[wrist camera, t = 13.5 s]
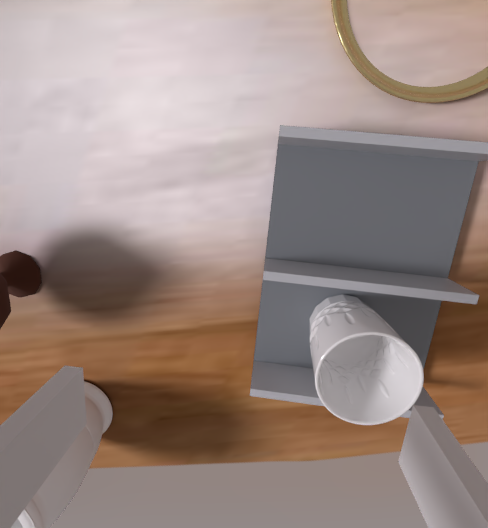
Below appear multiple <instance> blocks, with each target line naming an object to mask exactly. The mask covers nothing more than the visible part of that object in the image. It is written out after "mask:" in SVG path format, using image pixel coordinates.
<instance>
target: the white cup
mask: <svg viewBox="0 0 488 528" xmlns="http://www.w3.org/2000/svg"><path fill="white" fill-rule="evenodd" d="M309 333H310V350H311V358H312V364H313V372H314V379H315V387H316V391H317V394H318V396H319V398H320V400H321V402H322V403H323V405H324V406H325V407H326V408H327V409H328V410H329V411H330V412H331V413H332V414H334V415H335V416H337V417H338V418H340V419H342V420H344V421H347V422H350V423H354V424H360V425H376V424H382V423H385V422H389V421H391V420H394V419H396V418H398V417H399V416H401V415H403V414H404V413H405V412H407V411H408V410H409V409H410V408H411V407H412V406H413V405H414V403H415V402H416V400H417V399H418V397H419V395H420V393H421V390H422V387H423V382H424V372H423V367H422V364H421V361H420V359H419V357H418V355H417V354H416V352H415V351H414V350H413V349H412V348H411V347H410V346H409V345H408V344H407V343H406V342H405V341H404V340H403V339H402V338H401V337H400V336H399V335H398V333H397V332H396V331H395V330H394V329H393V328H392V327H391V326H390V325H389V324H388V323H387V322H386V321H385V320H384V319H383V318H381V317H380V316H379V315H378V314H377V313H376V312H375V311H374V310H373V309H371V308H370V307H369V306H368V305H367V304H366V303H364V302H363V301H362V300H360V299H359V298H357V297H354V296H349V295H343V294H341V295H337V296H332V297H328V298H326V299H325V300H324V301H322V302H321V303H320V304H318V305H317V306H316V307H315V309H314V311H313V313H312V315H311V317H310V319H309Z"/></svg>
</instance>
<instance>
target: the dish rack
mask: <svg viewBox="0 0 488 528" xmlns="http://www.w3.org/2000/svg"><path fill="white" fill-rule="evenodd" d="M487 160H488V142H476V141H464V140H452V139H440V138H428V137H416V136H404V135H392V134H380V133H368V132H356V131H344V130H332V129H320V128H308V127H296V126H284V125H280V131H279V140H278V149H277V158H276V167H275V176H274V185H273V194H272V203H271V212H270V221H269V230H268V238H267V247H266V256H265V265H264V274H263V283H262V292H261V301H260V310H259V319H258V328H257V336H256V345H255V354H254V363H253V372H252V381H251V390H250V396H255V397H262V398H269V399H276V400H284V401H291V402H298V403H305V404H312V405H320V406H324V405H323V403H322V402H321V400H320V398H319V396H318V394H317V391H316V387H315V379H314V372H313V364H312V358H311V350H310V333H309V319H310V317H311V315H312V313H313V311H314V309H315V307H316V306H317V305H318V304H320V303H321V302H322V301H324V300H325V299H326V298H328V297H332V296H337V295H341V294H343V295H349V296H354V297H357V298H359V299H360V300H362V301H363V302H364V303H366V304H367V305H368V306H369V307H370V308H371V309H373V310H374V311H375V312H376V313H377V314H378V315H379V316H380V317H381V318H383V319H384V320H385V321H386V322H387V323H388V324H389V325H390V326H391V327H392V328H393V329H394V330H395V331H396V332H397V333H398V335H399V336H400V337H401V338H402V339H403V340H404V341H405V342H406V343H407V344H408V345H409V346H410V347H411V348H412V349H413V350H414V351H415V352H416V354H417V355H418V357H419V359H420V361H421V364H422V367H423V369H424V366H425V362H426V358H427V354H428V351H429V347H430V343H431V339H432V335H433V332H434V328H435V324H436V320H437V317H438V313H439V309H440V305H441V301H442V300H443V301H452V302H460V303H469V304H477V302H478V298H479V295H478V294H476V293H474V292H472V291H470V290H468V289H467V288H465V287H463V286H461V285H459V284H457V283H456V282H454V281H452V280H450V279H448V275H449V271H450V267H451V264H452V260H453V256H454V252H455V249H456V245H457V241H458V237H459V233H460V230H461V226H462V222H463V218H464V215H465V211H466V207H467V203H468V199H469V196H470V192H471V188H472V184H473V181H474V177H475V173H476V169H477V165H478V162H479V161H487ZM414 405H418V406H426V407H434V409H435V410H436V411H437V413H438V414H439V416H440V417H441V418H442V420H443V417H444V415H443V413H442V412H441V411H440V409H439V408H438V406H437V405H436V404H435V402H434V401H433V400H432V398H431V397H430V396H429V394H428V393H427V392H426V390H425V389H424V387H422V390H421V393H420V395H419V397H418V399H417V400H416V402H415V403H414ZM412 408H413V406H412V407H411V408H410V409H409V410H408V411H407V412H405V413H404V414H403V415H401V416H399V417H406V418H410V415H411V411H412Z"/></svg>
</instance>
